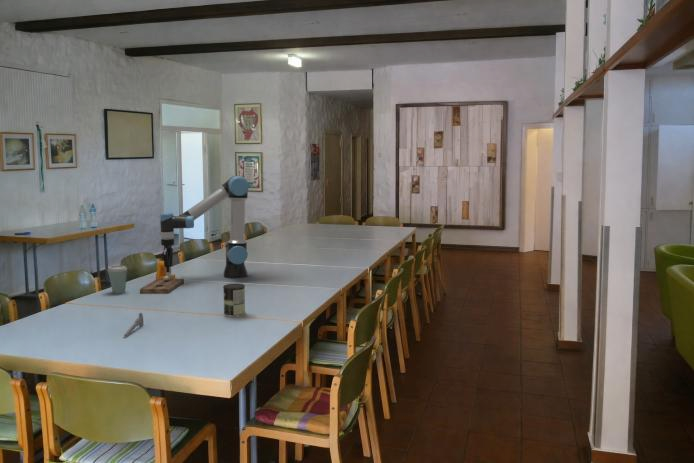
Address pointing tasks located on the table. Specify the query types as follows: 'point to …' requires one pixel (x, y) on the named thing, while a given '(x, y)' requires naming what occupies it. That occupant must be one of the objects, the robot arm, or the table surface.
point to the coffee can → (234, 300)
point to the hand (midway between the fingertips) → (168, 277)
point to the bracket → (162, 271)
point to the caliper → (137, 322)
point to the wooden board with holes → (162, 286)
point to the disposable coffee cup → (117, 278)
